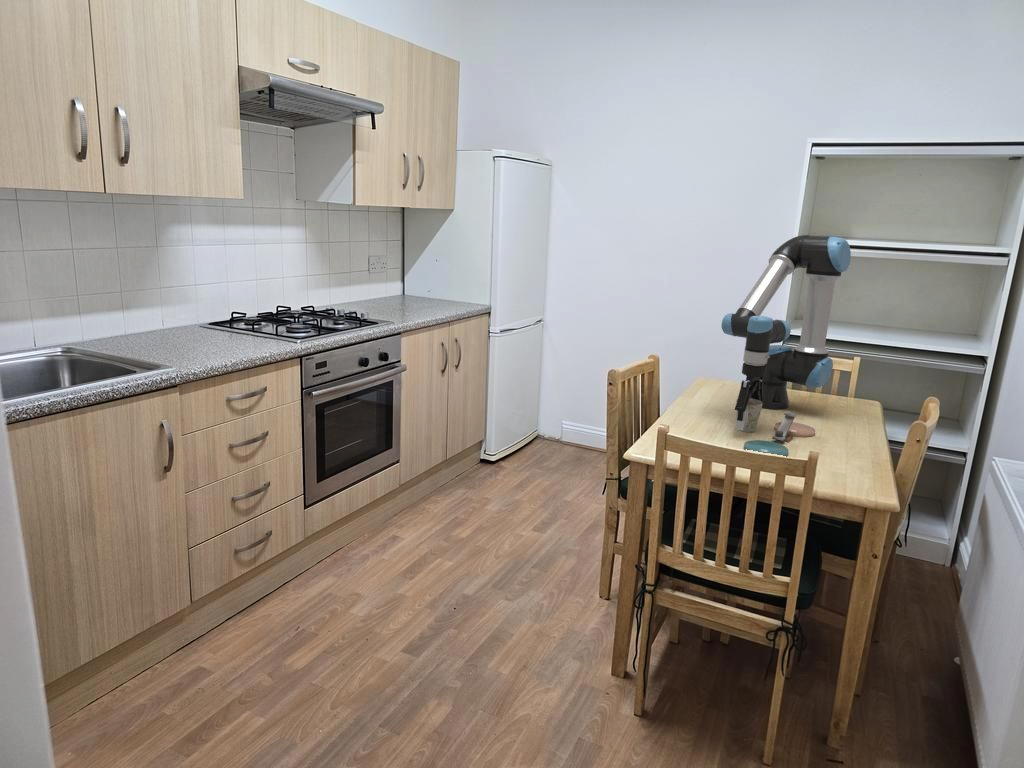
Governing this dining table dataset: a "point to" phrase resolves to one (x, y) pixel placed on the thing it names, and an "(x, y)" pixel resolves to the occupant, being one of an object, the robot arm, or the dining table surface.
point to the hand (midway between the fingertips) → (746, 425)
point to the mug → (752, 415)
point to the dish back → (798, 430)
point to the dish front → (766, 447)
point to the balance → (785, 427)
